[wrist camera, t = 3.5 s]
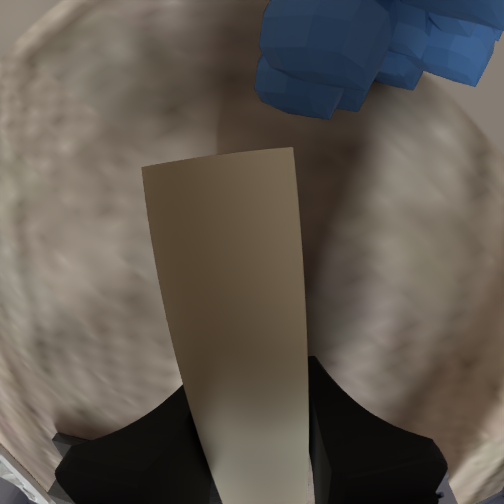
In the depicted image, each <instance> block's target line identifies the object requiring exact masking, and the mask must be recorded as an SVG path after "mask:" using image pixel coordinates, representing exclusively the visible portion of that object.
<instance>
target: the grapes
mask: <svg viewBox="0 0 504 504" xmlns="http://www.w3.org/2000/svg"><path fill="white" fill-rule="evenodd" d="M503 31H504V0H270V1H269V3H268V5H267V7H266V9H265V11H264V15H263V20H262V27H261V34H260V42H259V47H260V49H261V51H262V54H261V56H260V58H259V60H258V65H257V71H256V79H255V86H254V89H255V91H256V92H257V94H258V96H259V98H260V99H261V101H262V102H264V103H266V104H268V105H270V106H272V107H275V108H277V109H279V110H281V111H284V112H286V113H288V114H295V115H302V116H308V117H315V118H321V119H328V120H329V119H330V118H331V116H332V114H333V112H334V110H335V108H336V109H342V110H348V111H354V112H358V111H359V109H360V107H361V105H362V104H363V102H364V100H365V98H366V96H367V94H368V91H369V88H370V86H371V84H372V83H373V81H377V82H380V83H383V84H387V85H391V86H394V87H398V88H404V89H409V90H414V88H415V86H416V84H417V83H418V81H419V79H420V77H421V75H422V73H423V71H426V72H429V73H432V74H434V75H437V76H441V77H443V78H446V79H449V80H452V81H455V82H459V83H463V84H467V85H470V86H474V87H475V86H476V85H477V83H478V81H479V79H480V78H481V76H482V74H483V72H484V70H485V68H486V66H487V64H488V62H489V60H490V58H491V56H492V54H493V49H494V43H495V40H497V41H499V39H500V36H501V34H502V32H503Z"/></svg>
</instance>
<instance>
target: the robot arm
mask: <svg viewBox="0 0 504 504" xmlns="http://www.w3.org/2000/svg"><path fill="white" fill-rule="evenodd" d="M308 397H309V455H310V460H311V465H312V472H313V483H314V495H315V504H458V503H457V501H456V499H455V496H454V494H453V492H452V490H451V488H450V485H449V483H448V481H447V479H448V477H449V473H448V472H447V469H448V467H447V462H446V460H445V458H444V456H443V454H442V452H441V451H440V449H439V448H438V447H437V445H436V444H435V443H434V441H433V439H430V438H427V437H424V436H420V435H417V434H414V433H411V432H408V431H405V430H403V429H401V428H398V427H396V426H394V425H392V424H390V423H388V422H386V421H384V420H382V419H380V418H379V417H377V416H375V415H373V414H372V413H370V412H369V411H367V410H366V409H365V408H363V407H362V406H361V405H359V404H358V403H357V402H356V401H354V400H353V399H352V398H351V397H350V396H349V395H348V394H347V393H346V392H344V391H343V390H342V389H341V387H340V386H339V385H338V384H337V383H336V382H335V381H334V380H333V379H332V378H331V376H330V375H329V374H328V373H327V372H326V370H325V369H324V368H323V366H322V365H321V364H320V362H319V361H318V359H317V358H316V357H315V356H309V357H308ZM55 477H56V479H57V482H58V483H59V485H60V486H61V488H62V489H63V490H64V491H65V492H66V493H67V495H68V496H69V497H70V498H71V499H72V500H73V502H74V503H75V504H209V499H210V490H211V481H212V474H211V471H210V468H209V465H208V462H207V459H206V457H205V454H204V451H203V448H202V445H201V442H200V439H199V436H198V432H197V429H196V426H195V423H194V420H193V416H192V413H191V410H190V406H189V403H188V400H187V396H186V393H185V389H184V386H183V385H182V386H181V387H180V388H179V389H178V390H177V391H176V392H174V393H173V394H172V395H171V396H170V397H169V398H167V399H166V400H165V401H164V402H163V403H162V404H160V405H159V406H158V407H157V408H155V409H154V410H152V411H151V412H149V413H148V414H147V415H145V416H144V417H142V418H140V419H139V420H137V421H135V422H133V423H131V424H129V425H128V426H126V427H124V428H122V429H120V430H118V431H116V432H113V433H111V434H108V435H106V436H103V437H101V438H98V439H95V440H91V441H88V442H84V443H81V444H77V445H73V446H71V447H70V448H69V450H68V452H67V453H66V455H65V456H64V458H63V459H62V461H61V462H60V464H59V465H58V467H57V468H56V470H55ZM0 504H38V503H36V502H34V501H32V500H30V499H29V498H28V497H27V495H26V494H25V493H24V492H23V491H22V490H21V489H20V488H19V487H17V486H16V485H14V484H13V483H11V482H9V481H7V480H5V479H4V478H2V477H0ZM476 504H504V487H503V489H502V491H500V492H498V493H496V494H494V495H492V496H490V497H489V498H487V499H485V500H482V501H480V502H478V503H476Z"/></svg>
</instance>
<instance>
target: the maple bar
mask: <svg viewBox="0 0 504 504" xmlns="http://www.w3.org/2000/svg"><path fill="white" fill-rule="evenodd" d="M141 168H142V176H143V185H144V192H145V200H146V207H147V214H148V221H149V228H150V234H151V240H152V246H153V252H154V258H155V263H156V269H157V274H158V279H159V284H160V289H161V294H162V299H163V304H164V308H165V313H166V317H167V322H168V326H169V331H170V335H171V339H172V343H173V347H174V351H175V355H176V359H177V363H178V367H179V371H180V375H181V378H182V382H183V386H184V389H185V393H186V396H187V400H188V403H189V406H190V410H191V413H192V416H193V420H194V423H195V426H196V429H197V432H198V436H199V439H200V442H201V445H202V448H203V451H204V454H205V457H206V459H207V462H208V465H209V468H210V471H211V474H212V476H213V479H214V482H215V484H216V487H217V490H218V492H219V495H220V498H221V500H222V503H223V504H307V499H308V459H309V397H308V353H307V326H306V304H305V286H304V269H303V254H302V240H301V227H300V215H299V203H298V192H297V182H296V172H295V162H294V152H293V147H285V148H274V149H263V150H254V151H245V152H236V153H228V154H220V155H213V156H206V157H199V158H192V159H186V160H180V161H173V162H168V163H162V164H156V165H151V166H145V167H141Z"/></svg>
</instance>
